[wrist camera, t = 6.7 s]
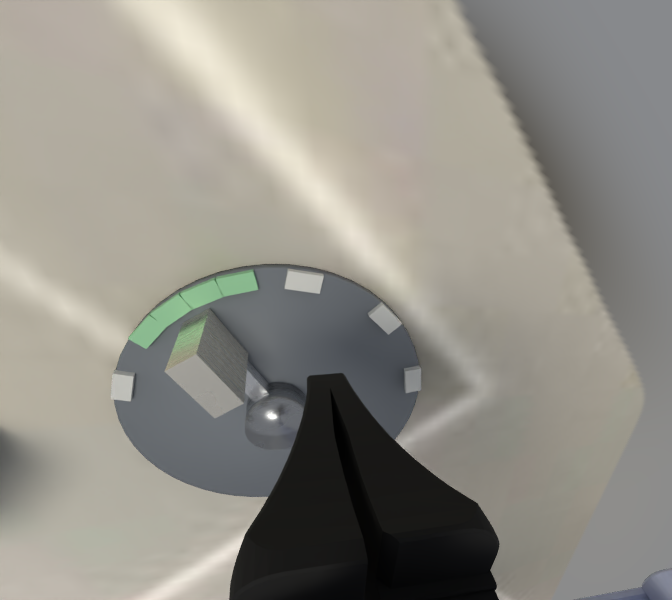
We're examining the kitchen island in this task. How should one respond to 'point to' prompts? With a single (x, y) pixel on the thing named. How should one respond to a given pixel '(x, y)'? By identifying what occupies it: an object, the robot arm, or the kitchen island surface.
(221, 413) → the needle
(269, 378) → the dial
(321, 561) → the robot arm
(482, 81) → the kitchen island surface
